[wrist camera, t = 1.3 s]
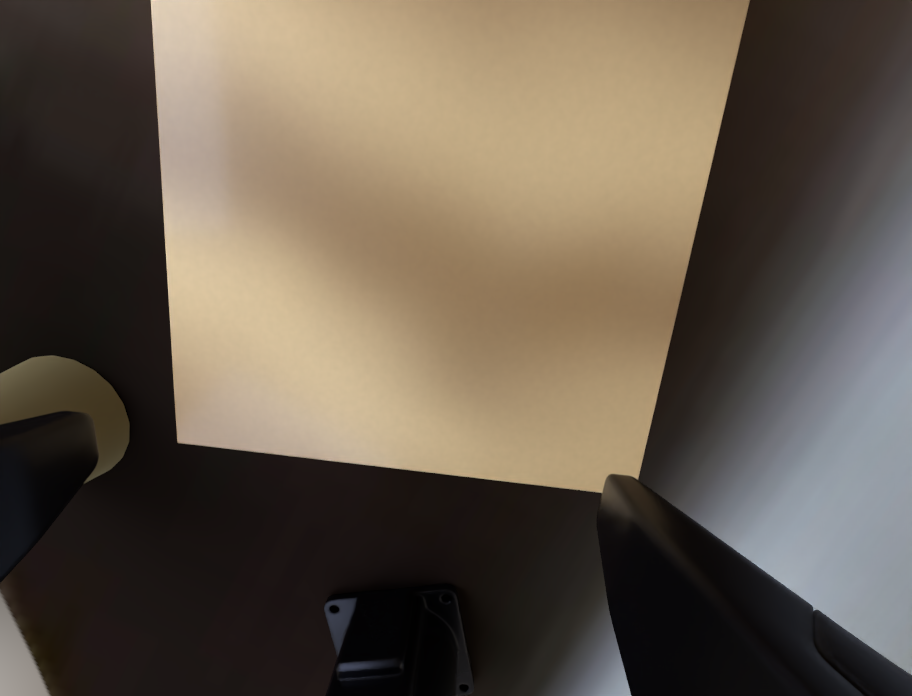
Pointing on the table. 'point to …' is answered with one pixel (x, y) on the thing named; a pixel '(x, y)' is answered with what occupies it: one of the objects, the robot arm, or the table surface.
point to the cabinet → (434, 224)
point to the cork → (67, 401)
